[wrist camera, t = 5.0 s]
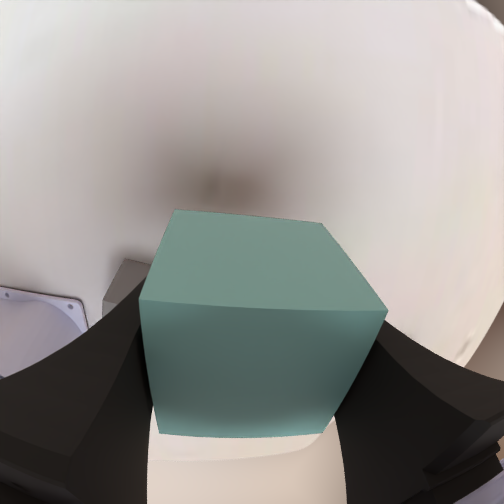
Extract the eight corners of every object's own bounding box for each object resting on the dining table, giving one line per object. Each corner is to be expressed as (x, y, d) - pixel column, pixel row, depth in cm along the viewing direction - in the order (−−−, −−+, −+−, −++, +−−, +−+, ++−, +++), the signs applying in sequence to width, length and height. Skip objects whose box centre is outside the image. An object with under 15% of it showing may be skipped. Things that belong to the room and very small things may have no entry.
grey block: (120, 312, 21) (103, 358, 17) (125, 257, 19) (102, 300, 15) (181, 327, 22) (175, 376, 18) (194, 274, 20) (189, 321, 16)
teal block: (173, 327, 12) (159, 433, 7) (174, 209, 10) (138, 299, 5) (292, 333, 12) (322, 432, 8) (321, 223, 10) (388, 310, 6)
